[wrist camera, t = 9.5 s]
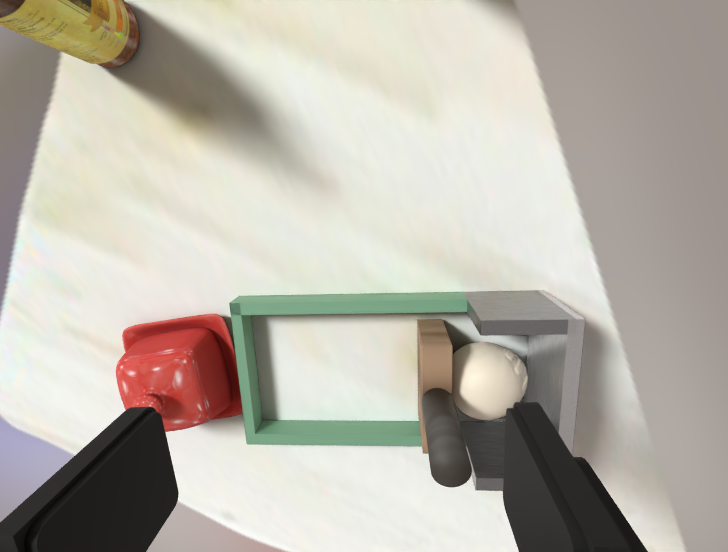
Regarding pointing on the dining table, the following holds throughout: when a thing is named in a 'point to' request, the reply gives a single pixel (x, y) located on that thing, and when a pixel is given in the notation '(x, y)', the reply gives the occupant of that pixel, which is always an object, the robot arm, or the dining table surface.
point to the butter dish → (181, 370)
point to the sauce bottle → (77, 27)
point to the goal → (527, 370)
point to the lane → (324, 304)
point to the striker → (439, 407)
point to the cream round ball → (487, 380)
